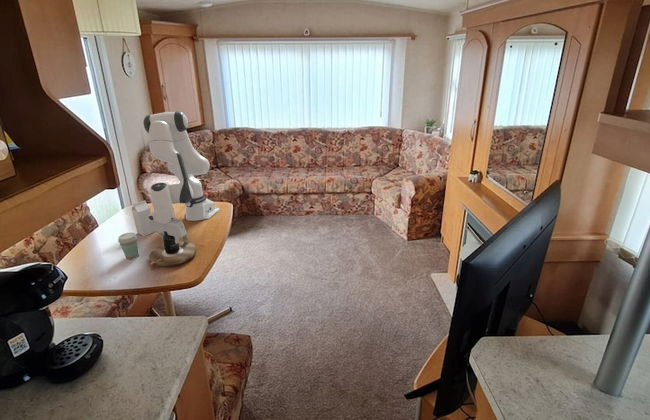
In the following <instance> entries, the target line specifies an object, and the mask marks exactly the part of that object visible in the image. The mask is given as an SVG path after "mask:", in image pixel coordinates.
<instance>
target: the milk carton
mask: <svg viewBox="0 0 650 420" xmlns="http://www.w3.org/2000/svg"><path fill="white" fill-rule="evenodd" d="M131 212H132V216H133V220H134V226H135V229H136V232H137V234H139V235H141V236H143V237H145V236H147V235H150V234H153V233H154V232H153V231H152V230H151V228H150V225H149V219H148V215H150V214H152V212H151V207H150V205H148V203H147V201H146V199H145V200H142V201H139V202H136V203H135V202H134V203H133V204H132V208H131Z"/></svg>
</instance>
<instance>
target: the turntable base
mask: <svg viewBox="0 0 650 420" xmlns="http://www.w3.org/2000/svg"><path fill="white" fill-rule="evenodd" d="M185 262H187V261H185ZM185 262H183V263H180V264H177V265H172V266H171V267H174V266H178V265H181V264H184V263H185ZM149 266H150V269H151V271H155V270H156V269H158V268H157V265H156V263H155V262H152V263H151V262H150V264H149Z"/></svg>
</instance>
